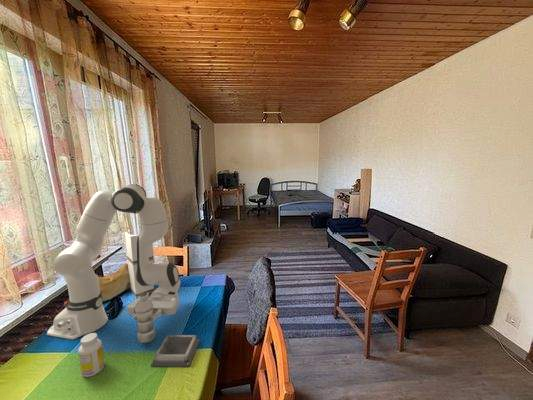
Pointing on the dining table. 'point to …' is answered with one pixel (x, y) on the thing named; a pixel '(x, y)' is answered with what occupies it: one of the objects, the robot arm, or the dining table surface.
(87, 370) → the supplement bottle
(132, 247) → the beige notched post
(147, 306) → the silver bottle
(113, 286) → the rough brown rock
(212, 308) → the dining table surface
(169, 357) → the grey square tray
